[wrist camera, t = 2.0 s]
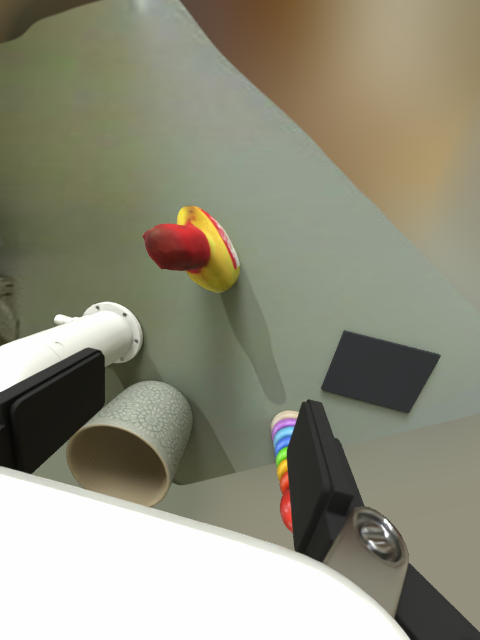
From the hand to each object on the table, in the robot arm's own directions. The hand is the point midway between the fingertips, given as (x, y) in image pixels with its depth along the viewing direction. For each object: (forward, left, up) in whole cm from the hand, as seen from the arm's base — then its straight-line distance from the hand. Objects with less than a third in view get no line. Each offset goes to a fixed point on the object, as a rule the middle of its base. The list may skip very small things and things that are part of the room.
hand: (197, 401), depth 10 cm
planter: (-13, -29, -31) cm, 44 cm away
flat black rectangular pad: (+25, -9, -30) cm, 40 cm away
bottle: (-7, +5, -31) cm, 32 cm away
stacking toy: (+14, -25, -31) cm, 42 cm away
